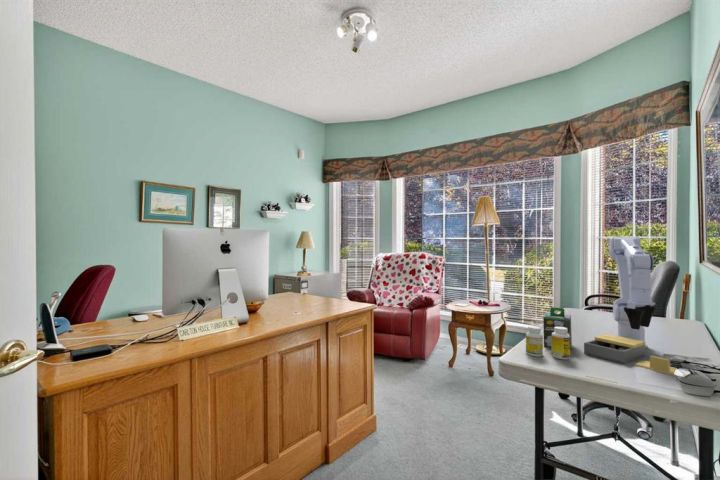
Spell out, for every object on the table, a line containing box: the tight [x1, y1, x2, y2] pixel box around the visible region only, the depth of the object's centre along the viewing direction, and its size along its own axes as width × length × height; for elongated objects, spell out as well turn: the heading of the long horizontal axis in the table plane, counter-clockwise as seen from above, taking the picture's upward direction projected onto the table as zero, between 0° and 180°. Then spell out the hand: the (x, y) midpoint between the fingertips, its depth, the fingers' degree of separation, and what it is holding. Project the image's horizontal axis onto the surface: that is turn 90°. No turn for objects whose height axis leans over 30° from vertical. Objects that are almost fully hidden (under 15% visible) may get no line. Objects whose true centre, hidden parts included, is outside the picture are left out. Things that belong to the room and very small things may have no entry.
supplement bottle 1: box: [525, 325, 544, 358], centre depth 122 cm, size 5×5×10 cm
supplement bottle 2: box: [551, 327, 571, 360], centre depth 119 cm, size 6×6×10 cm
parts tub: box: [583, 333, 646, 365], centre depth 123 cm, size 17×12×5 cm
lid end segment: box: [634, 355, 677, 376], centre depth 109 cm, size 7×12×4 cm, turn 31°
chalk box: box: [542, 306, 573, 351], centre depth 134 cm, size 9×9×15 cm
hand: (640, 327), depth 120 cm, fingers open, 7 cm apart
